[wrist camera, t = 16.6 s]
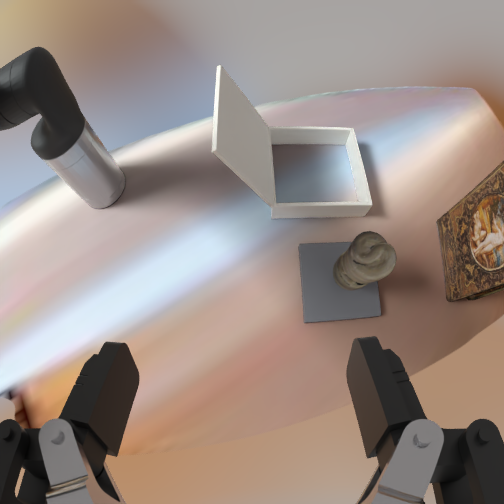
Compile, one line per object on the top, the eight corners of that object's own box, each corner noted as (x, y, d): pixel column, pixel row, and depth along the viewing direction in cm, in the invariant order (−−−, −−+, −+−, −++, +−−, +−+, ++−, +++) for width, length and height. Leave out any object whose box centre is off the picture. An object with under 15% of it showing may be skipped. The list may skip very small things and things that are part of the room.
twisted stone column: (366, 282, 44) (409, 253, 29) (342, 306, 43) (380, 287, 28) (341, 256, 45) (374, 216, 31) (317, 279, 44) (343, 247, 30)
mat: (303, 323, 44) (305, 322, 42) (298, 247, 47) (299, 243, 46) (377, 316, 44) (381, 315, 42) (368, 244, 47) (371, 241, 46)
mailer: (228, 220, 49) (211, 150, 31) (228, 143, 54) (216, 65, 36) (364, 216, 49) (409, 152, 30) (347, 142, 54) (374, 69, 35)
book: (435, 216, 48) (513, 141, 25) (456, 218, 48) (534, 150, 24) (446, 303, 44) (550, 263, 20) (467, 301, 43) (568, 264, 20)
